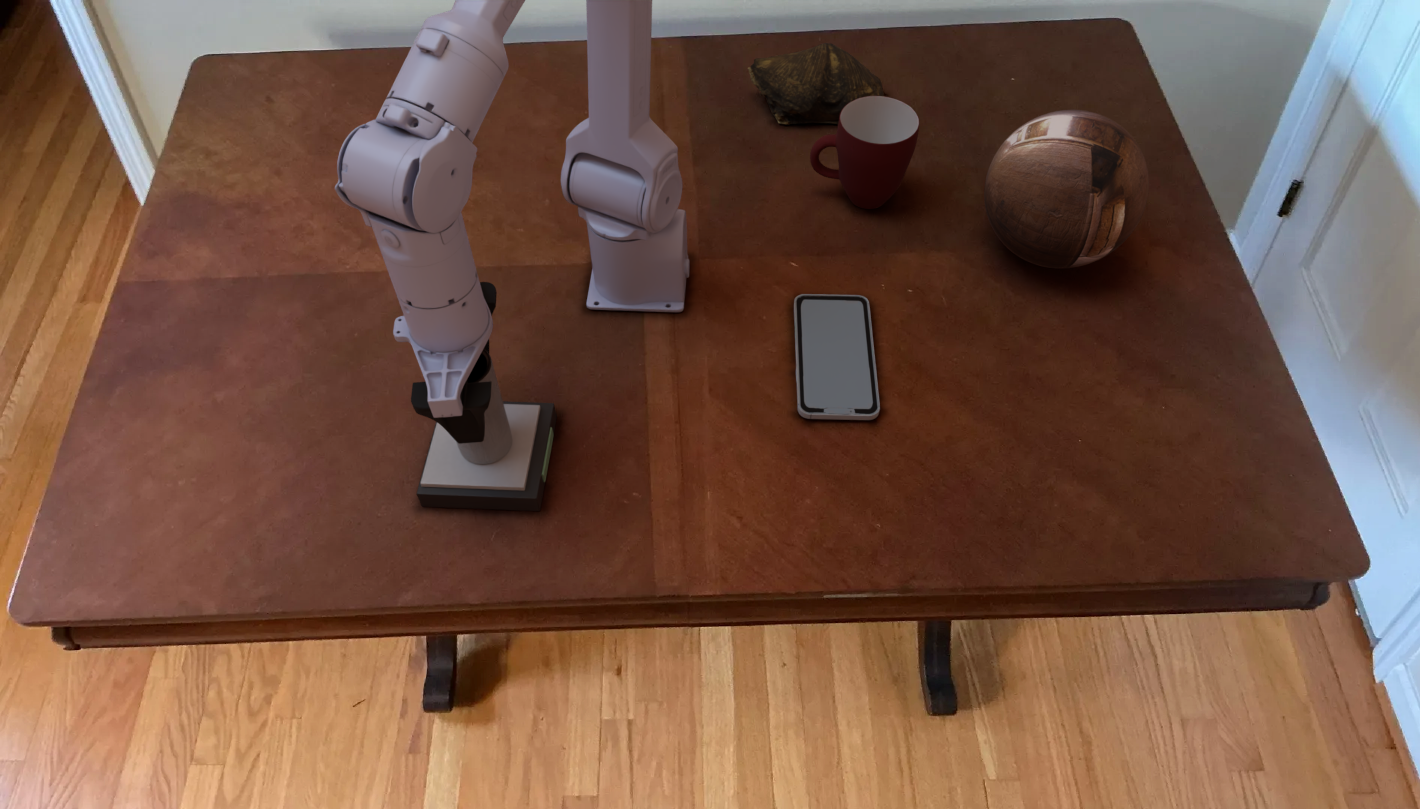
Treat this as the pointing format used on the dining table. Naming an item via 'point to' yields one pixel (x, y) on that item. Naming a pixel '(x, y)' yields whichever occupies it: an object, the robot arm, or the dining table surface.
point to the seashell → (812, 84)
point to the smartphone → (835, 358)
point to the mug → (870, 148)
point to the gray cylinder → (489, 419)
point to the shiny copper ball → (1066, 189)
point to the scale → (493, 466)
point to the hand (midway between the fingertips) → (473, 400)
